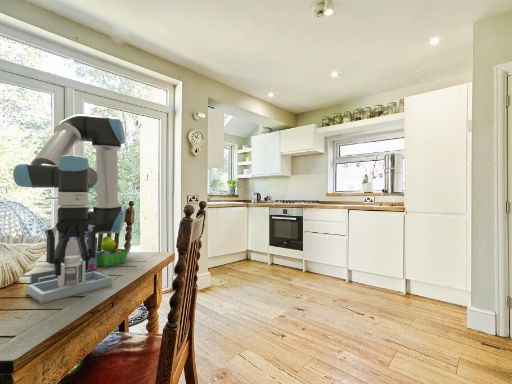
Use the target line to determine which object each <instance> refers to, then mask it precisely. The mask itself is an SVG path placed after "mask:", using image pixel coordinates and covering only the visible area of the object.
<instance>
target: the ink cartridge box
mask: <svg viewBox="0 0 512 384" xmlns="http://www.w3.org/2000/svg"><path fill="white" fill-rule="evenodd" d="M84 233H86V235H84V237H85V243H86V247H87V251H88V237H87V235H88V233H89V231H85V232H84ZM97 252H98V237H96V250H95V256H94V257H91V258H90V260H89V261H88V270H85V272H90V271H92V270H93V271H94V270H96V269H97V266H98V265H97ZM75 255H77V256H80V260H82V257H81V253H80V249H79V246H78V242H77V239H76V237H72V238H70V239H69V241H68V243H67V247H66V250H65V257H67V256H75Z"/></svg>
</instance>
